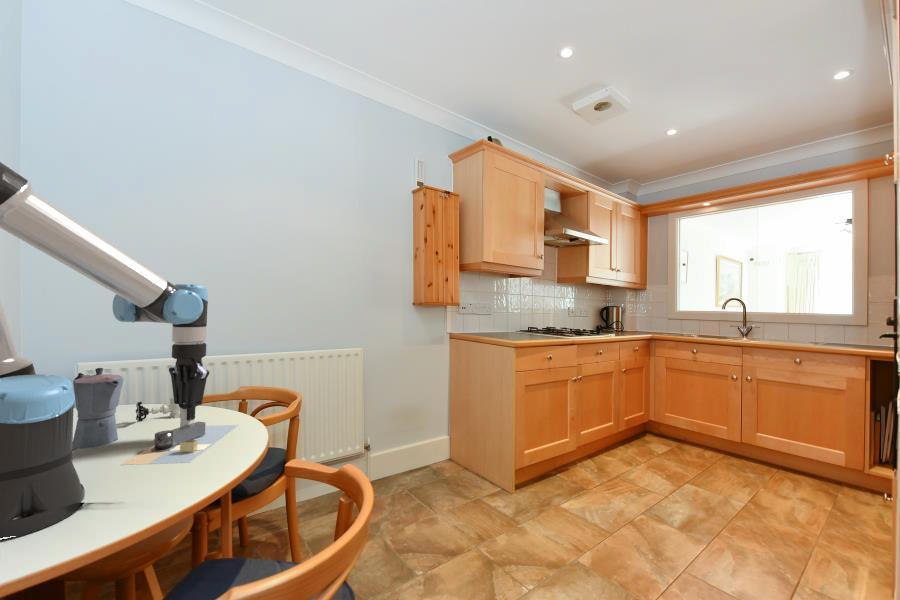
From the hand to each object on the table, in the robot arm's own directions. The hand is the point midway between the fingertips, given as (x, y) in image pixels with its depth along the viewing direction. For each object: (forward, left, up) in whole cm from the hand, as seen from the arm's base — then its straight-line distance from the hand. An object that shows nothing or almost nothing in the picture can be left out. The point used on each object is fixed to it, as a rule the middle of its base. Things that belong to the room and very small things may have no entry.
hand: (187, 431), depth 100 cm
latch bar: (-4, 0, -1) cm, 4 cm away
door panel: (-4, -2, -3) cm, 5 cm away
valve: (+20, +18, -3) cm, 27 cm away
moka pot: (-2, +21, -3) cm, 21 cm away
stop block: (-10, -6, -1) cm, 12 cm away
